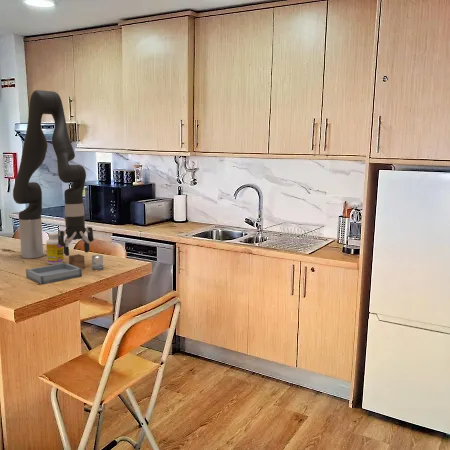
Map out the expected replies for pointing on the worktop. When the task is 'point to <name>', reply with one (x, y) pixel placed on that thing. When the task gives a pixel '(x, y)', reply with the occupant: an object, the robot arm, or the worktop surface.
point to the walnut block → (77, 260)
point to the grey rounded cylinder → (97, 262)
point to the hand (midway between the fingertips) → (76, 253)
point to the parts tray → (53, 273)
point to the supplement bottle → (54, 250)
